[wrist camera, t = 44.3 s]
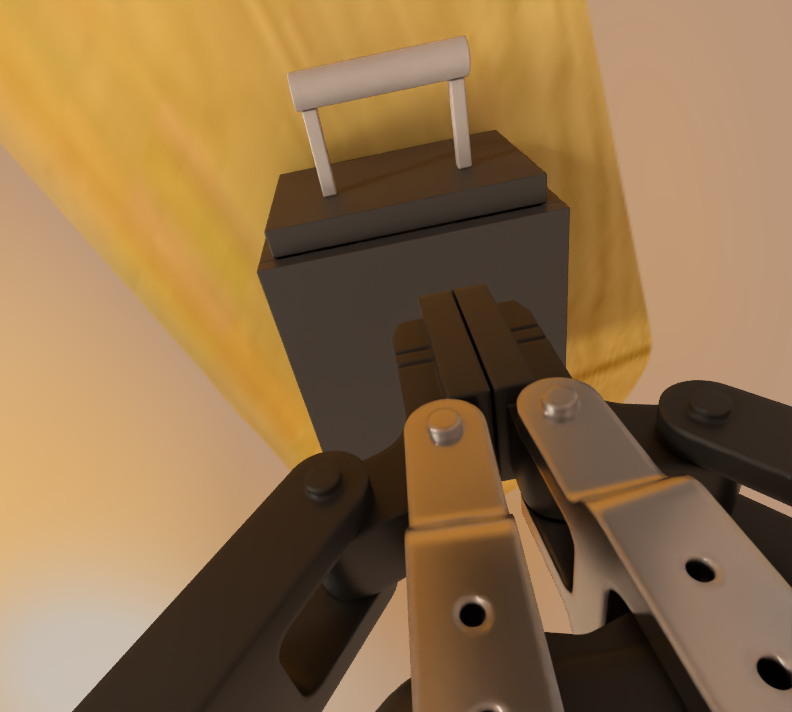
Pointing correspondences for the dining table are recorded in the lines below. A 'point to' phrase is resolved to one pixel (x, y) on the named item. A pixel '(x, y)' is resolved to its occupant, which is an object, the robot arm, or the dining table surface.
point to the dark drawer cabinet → (403, 309)
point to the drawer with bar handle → (395, 160)
